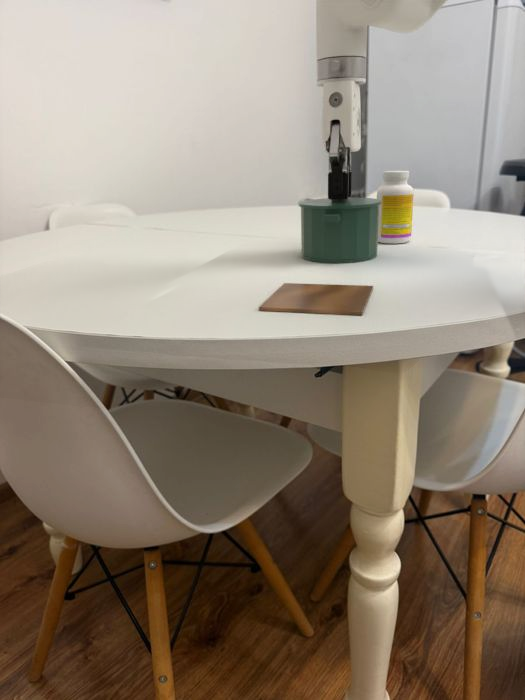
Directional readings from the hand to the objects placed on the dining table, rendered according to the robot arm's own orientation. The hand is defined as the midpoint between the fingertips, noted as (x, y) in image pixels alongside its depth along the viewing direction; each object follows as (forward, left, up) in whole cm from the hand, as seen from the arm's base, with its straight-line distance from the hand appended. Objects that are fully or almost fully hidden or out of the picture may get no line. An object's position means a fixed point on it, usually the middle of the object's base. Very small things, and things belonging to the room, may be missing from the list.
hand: (339, 197), depth 89 cm
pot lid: (0, 0, -1) cm, 1 cm away
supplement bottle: (-8, -15, -10) cm, 20 cm away
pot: (0, 0, -10) cm, 10 cm away
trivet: (-2, +28, -10) cm, 30 cm away
